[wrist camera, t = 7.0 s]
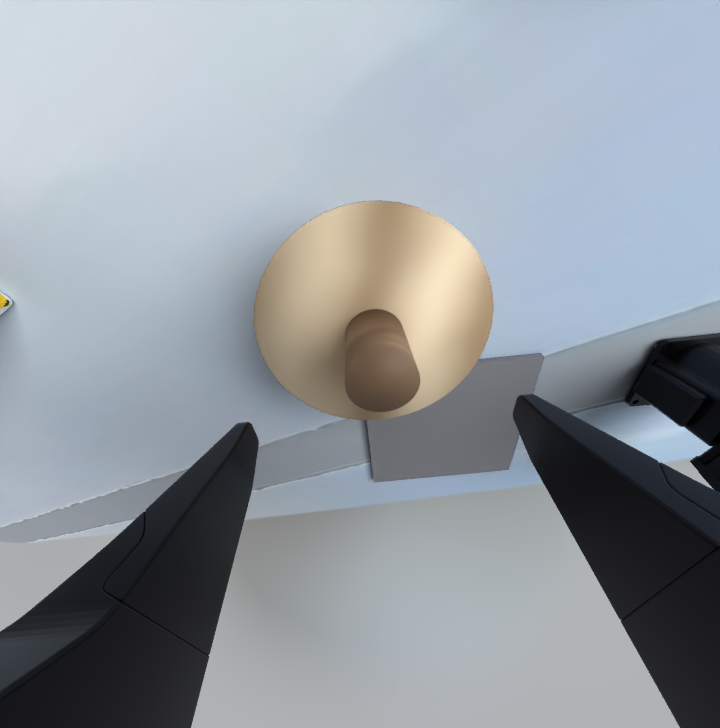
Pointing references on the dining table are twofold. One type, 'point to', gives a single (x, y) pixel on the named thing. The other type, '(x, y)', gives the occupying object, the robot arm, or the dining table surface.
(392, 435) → the rubber mat
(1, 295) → the medicine bottle
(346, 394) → the oak lid
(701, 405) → the robot arm
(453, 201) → the dining table surface
